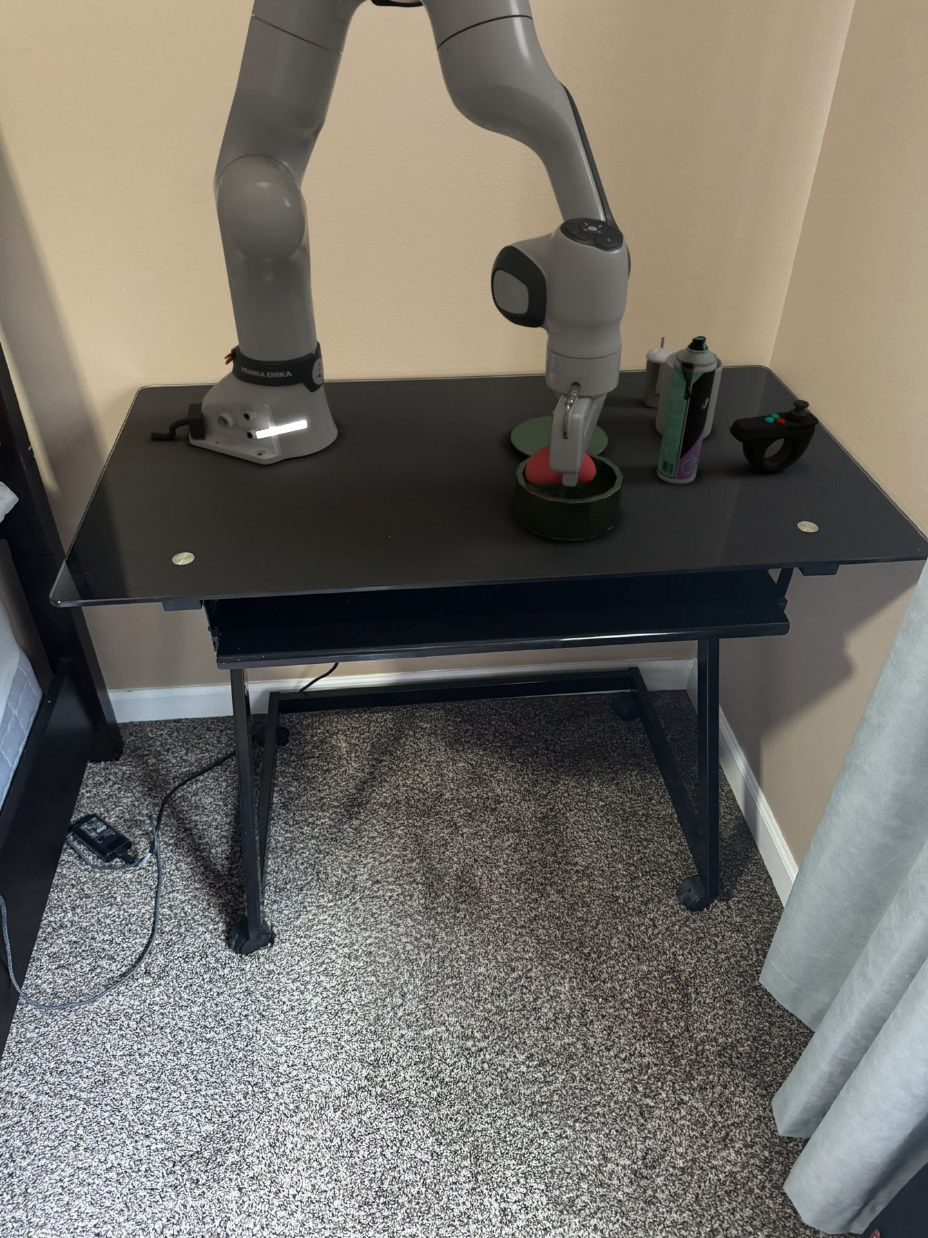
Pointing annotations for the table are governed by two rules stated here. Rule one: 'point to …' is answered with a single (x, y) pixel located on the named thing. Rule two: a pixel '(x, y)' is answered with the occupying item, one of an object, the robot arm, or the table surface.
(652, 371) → the milkshake
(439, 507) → the table surface
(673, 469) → the spray can
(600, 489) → the tin
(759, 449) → the controller
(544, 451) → the red bean shape
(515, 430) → the tin lid
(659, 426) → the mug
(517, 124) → the robot arm
